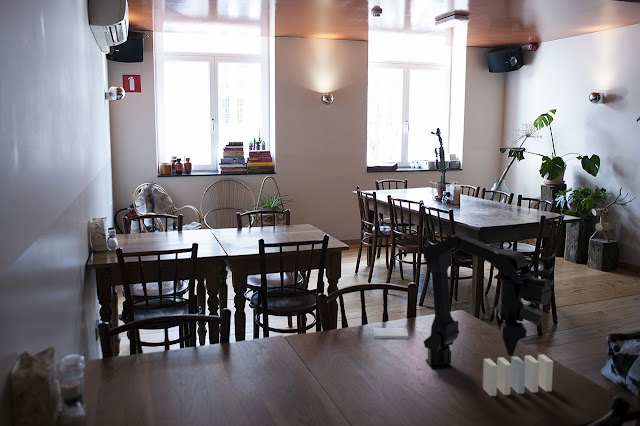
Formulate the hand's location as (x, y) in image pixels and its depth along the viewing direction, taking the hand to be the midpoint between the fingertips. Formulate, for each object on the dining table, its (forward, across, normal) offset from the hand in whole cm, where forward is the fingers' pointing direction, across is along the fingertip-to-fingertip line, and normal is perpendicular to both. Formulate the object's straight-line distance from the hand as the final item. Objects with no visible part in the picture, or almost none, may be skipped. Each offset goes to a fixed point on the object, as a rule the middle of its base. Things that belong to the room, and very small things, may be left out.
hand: (508, 349), depth 159 cm
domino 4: (+12, +2, -7) cm, 15 cm away
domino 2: (+12, -1, +1) cm, 13 cm away
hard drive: (+14, +38, +36) cm, 54 cm away
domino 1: (+12, -2, +5) cm, 14 cm away
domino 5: (+12, +3, -11) cm, 17 cm away
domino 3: (+12, +1, -3) cm, 13 cm away
